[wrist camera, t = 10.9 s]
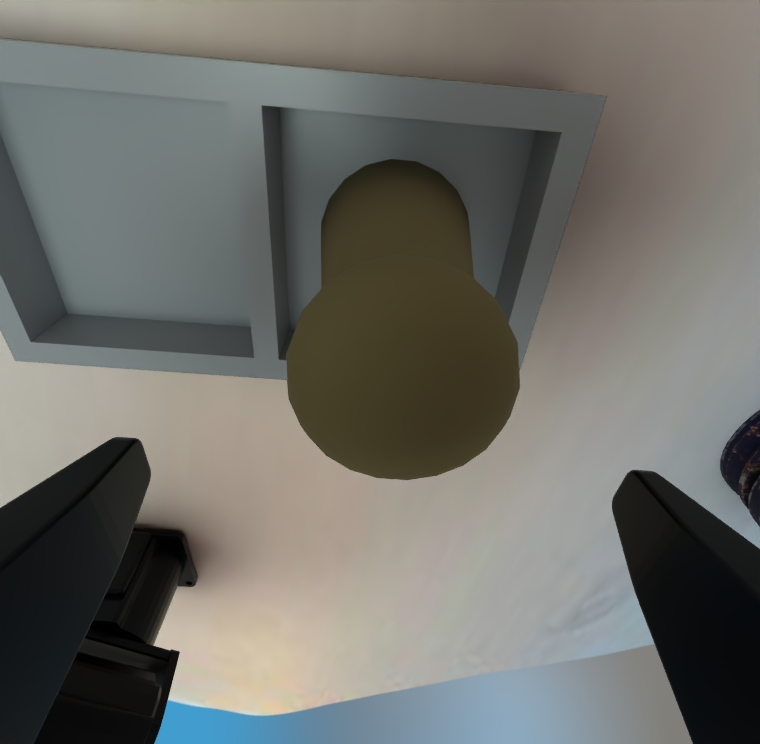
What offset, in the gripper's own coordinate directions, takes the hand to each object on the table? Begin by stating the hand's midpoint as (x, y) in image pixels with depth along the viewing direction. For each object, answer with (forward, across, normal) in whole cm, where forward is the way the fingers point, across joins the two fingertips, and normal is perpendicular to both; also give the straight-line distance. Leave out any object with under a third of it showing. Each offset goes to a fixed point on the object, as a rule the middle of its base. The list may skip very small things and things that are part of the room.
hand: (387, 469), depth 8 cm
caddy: (+13, +5, 0) cm, 14 cm away
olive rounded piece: (+12, 0, 0) cm, 12 cm away
